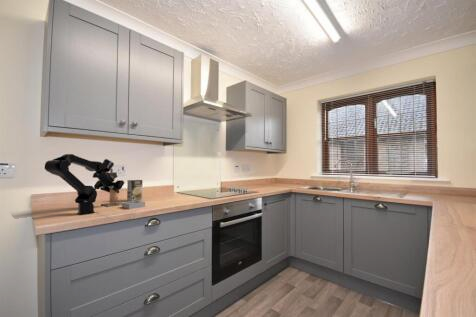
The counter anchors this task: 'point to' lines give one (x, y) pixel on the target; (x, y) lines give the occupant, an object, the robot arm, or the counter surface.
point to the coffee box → (134, 190)
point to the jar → (113, 195)
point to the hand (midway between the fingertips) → (115, 192)
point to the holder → (133, 204)
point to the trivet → (112, 204)
